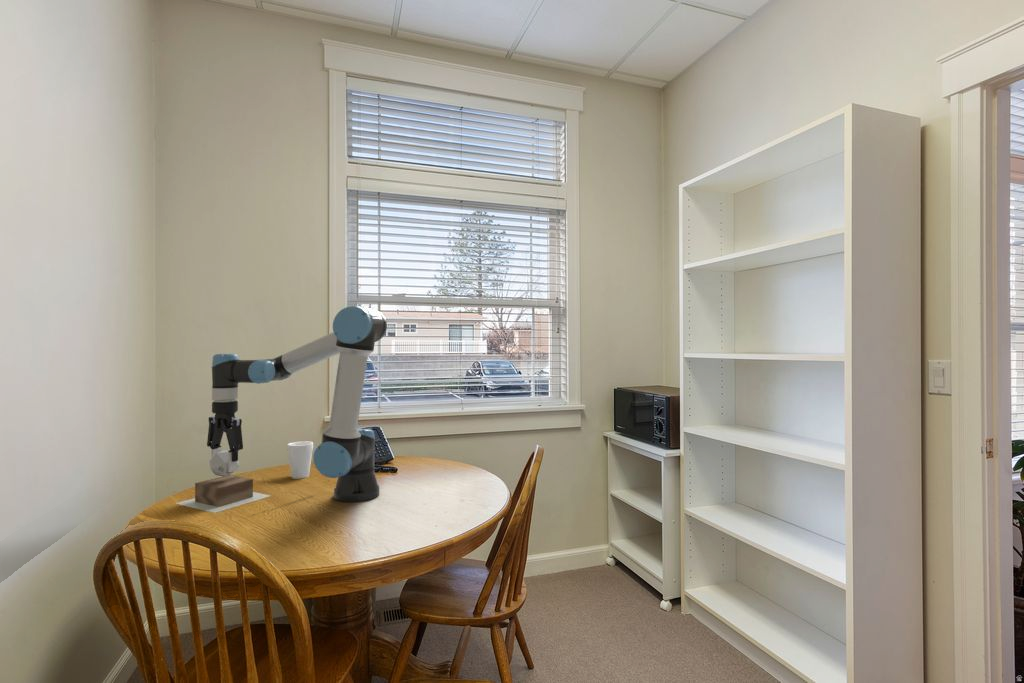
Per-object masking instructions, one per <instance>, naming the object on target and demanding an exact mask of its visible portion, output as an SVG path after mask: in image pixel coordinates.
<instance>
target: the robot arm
mask: <svg viewBox="0 0 1024 683" xmlns="http://www.w3.org/2000/svg"><path fill="white" fill-rule="evenodd" d="M387 329H388V322H387V319H386V317H385V316H384V314H383V313H382V312H381V311H379V310H377V309H374V308H369V307H364V306H359V305H352V306H351V305H349V306H346V307H344V308H341V309H340V310H339V311H338V312H337V313H336V315H335V316H334V318H333V321H332V332H331V333H328V334H326V335H323V336H322V337H319V338H317V339H315V340H312V341H311V342H307V343H306V344H304V345H301V346H299V347H297V348H294V349H292V350H290V351H287V352H285V353H283V354H281V355H279V356H276V357H274V358H266V359H239V356H238V354H237V353H215V354H214V355H213V356H212V363H211V372H212V373H211V378H212V380H211V381H212V386H211V400H212V403H211V413H213V414H214V416H210V417H208V433H207V440H206V441H207V442H206V446H207V447H210V449H211V458H212V457H213V456H214V455H215V454H216V453H218V452H220V451H222V446H221V443H222V439H223V435H224V433H225V435H226V439H227V442H228V443H227V444H228V447H229V450H227V451H228V472H233V471H234V472H237V471H238V468H237V461H238V462H239V451H240V450H241V451H242V450H243V449H244V442H243V441H244V440H243V431H242V422H243V421H242V419H241V418H239V419H238V418H236V415H235V413H238V410H239V402H238V397H239V393H238V391H239V389H238V387H239V383H241V384H243V383H244V384H245V383H246V384H249V383H250V384H267V383H268V384H269V383H270V382H272V381H283V380H285V379H288V378H290V377H291V375H293V374H295V373H297V372H299V371H302V370H304V369H307V368H309V367H311V366H314V365H316V364H319V363H320V362H323V361H325V360H327V359H330V358H331V357H335V356H337V355H338V354H339V358H338V363H337V369H336V376H335V383H334V384H335V385H334V390H333V391H334V392H333V398H332V403H331V410H330V411H331V412H330V418H329V422H328V424H329V425H328V427H327V428H326V429H324V430H323V432H322V438H321V443H320V444H319V445H318V446H317V447H316V449H315V450H314V452H313V454H312V457H313V458H312V459H313V464H314V468H316V470H317V471H318V472H319V474H321V476H324V477H326V478H329V479H337V481H336V484H335V488H334V489H333V498H334V500H336V501H338V502H343V503H344V502H345V503H347V502H349V503H351V502H352V503H353V502H354V503H355V502H364V501H369V500H373V499H375V498H377V497H378V496H379V495H380V485H379V483H378V481H377V477H376V473H375V452H376V451H375V447H376V446H375V444H376V438H375V431H374V430H373V429H369V428H358V423H359V417H360V410H361V404H362V398H363V391H364V390H363V389H364V384H365V377H366V370H367V363H368V358H369V355H371V354H372V353H373V352H374V351H375V343H376V342H378V341H380V340H382V339H383V337H384V336H385V335H386V332H387ZM234 472H233V473H234Z"/></svg>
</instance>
